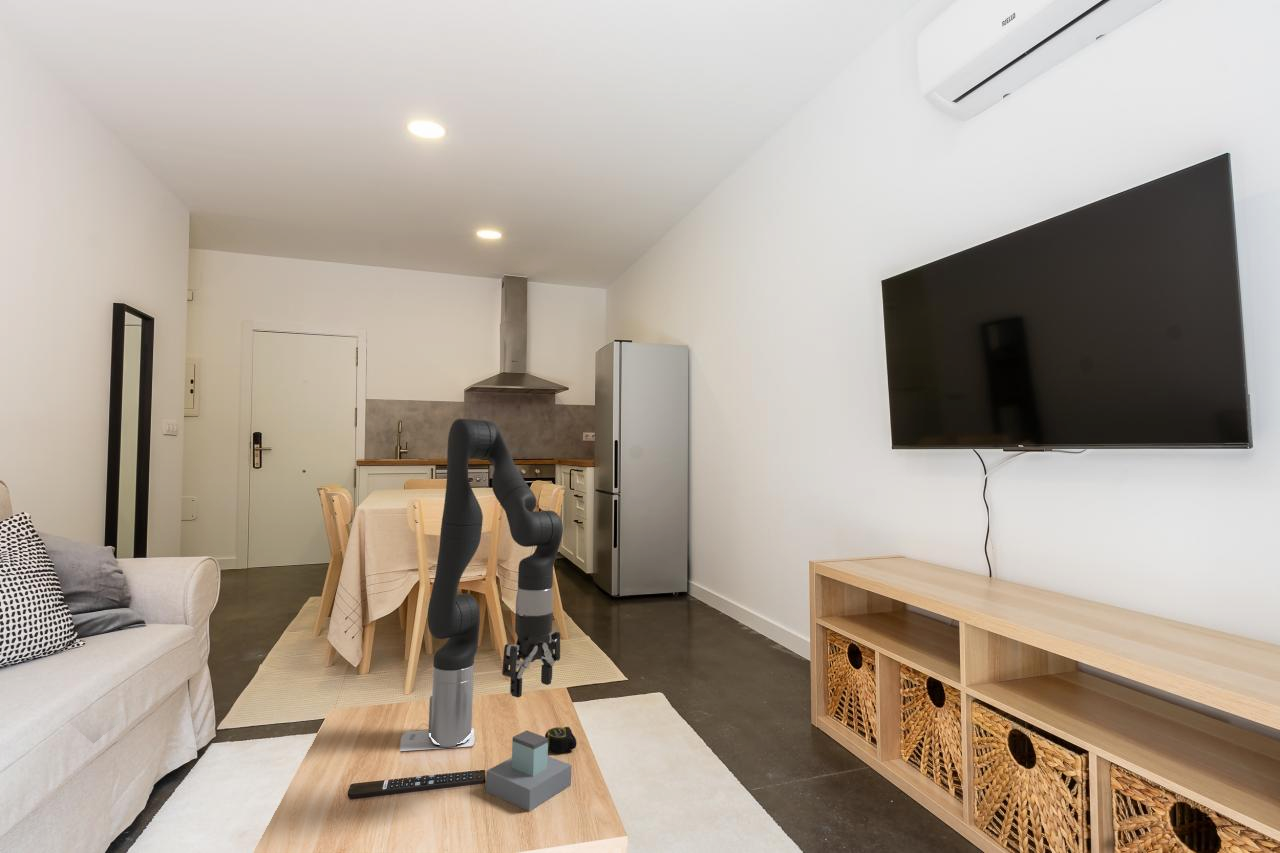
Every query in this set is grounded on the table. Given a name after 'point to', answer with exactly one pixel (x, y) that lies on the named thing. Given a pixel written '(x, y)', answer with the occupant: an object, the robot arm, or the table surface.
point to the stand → (528, 783)
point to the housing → (529, 753)
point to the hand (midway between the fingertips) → (531, 689)
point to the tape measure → (560, 739)
